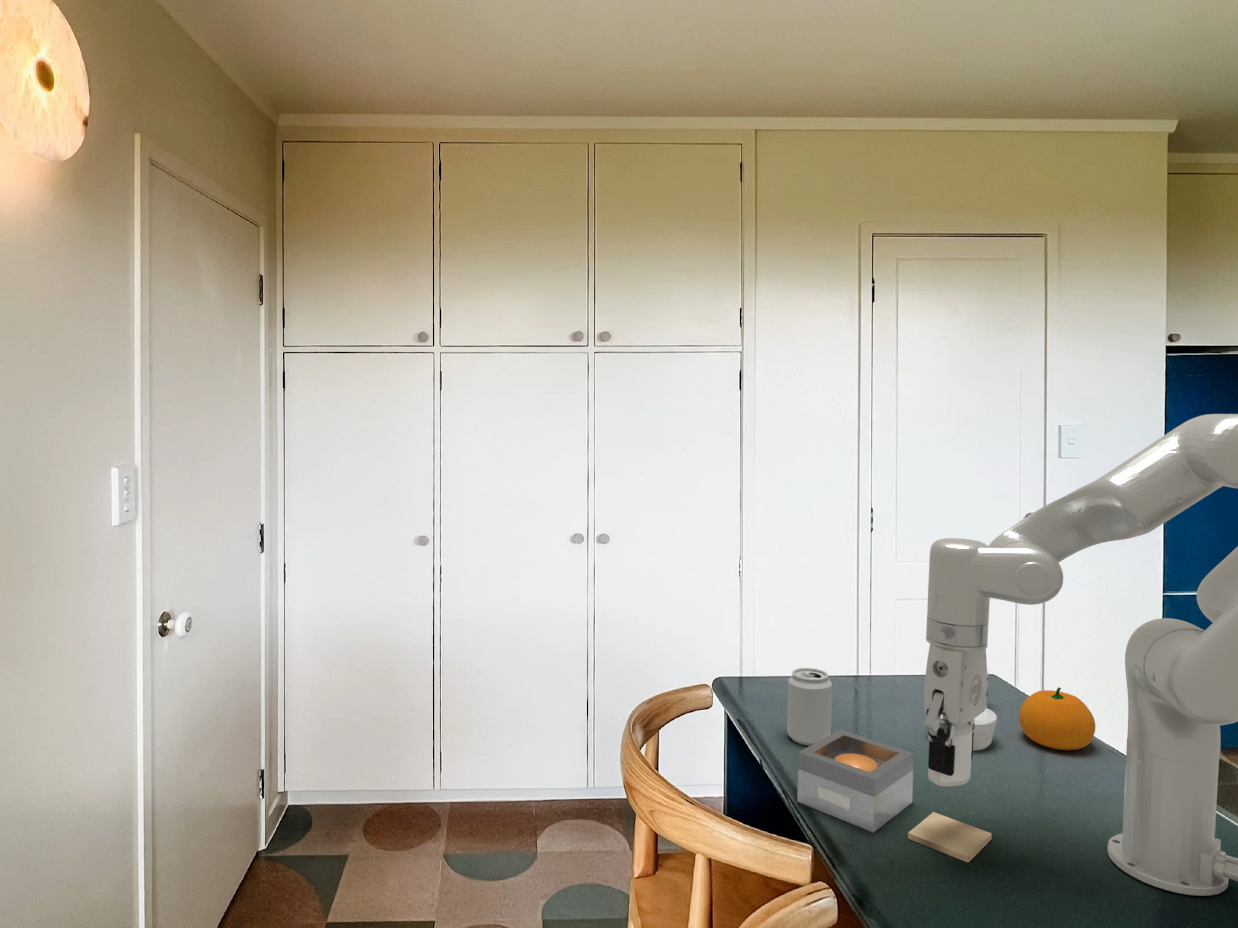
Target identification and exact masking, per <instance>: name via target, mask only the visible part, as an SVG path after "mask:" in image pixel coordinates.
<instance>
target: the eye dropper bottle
mask: <svg viewBox="0 0 1238 928" xmlns="http://www.w3.org/2000/svg"><path fill="white" fill-rule="evenodd" d="M942 717H943V718H942V719H945V720H948V718H947V716H946V715H943V714H942ZM948 721H949V720H948ZM939 725H940V728H943V729H944V731H945V733H947V727H948V726H947V725H944V724H940V723H939ZM952 745H954V746H955V762H954V774H953V775H952V776H948V775H945V774H942V773H939V772H936V771H934V770H931V769H929V768H928V771H927V775H928V776H927V777H928V780H929V781H930V782H932V783H934V784H935V785H936V786H939V787H944V788H945V787H947V788H948V787H959V786H962V785H965V784H967V783H969V781H971V780H970V779H971V769H972V768H971V766H972V760H971V752H972V727H971V726H970V725H969V724H968V723H967V724H965V725H963V726H961V727H957V726H955V731H954V737H953V743H952Z"/></svg>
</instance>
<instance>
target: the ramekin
mask: <svg viewBox="0 0 1238 928" xmlns="http://www.w3.org/2000/svg"><path fill="white" fill-rule="evenodd" d="M942 718H943V717H942V715H941V719H942ZM974 720H975V729H974V731H973V733H974V737H973V752H975V751H977V752H978V751H981V750H985V749H987V748H988V747H989V746H990V745H991V744H992V742H993V738H994V733H995V728H996V725H997V722H998V716H997V714H996V713H995V712H994V711H993V710H991V709H989V708H988V707H987V708H986V709H985V711H984V712H983V713H981V714H980V715H979V716H977V717H976V718H974Z"/></svg>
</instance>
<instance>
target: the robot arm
mask: <svg viewBox="0 0 1238 928" xmlns="http://www.w3.org/2000/svg"><path fill="white" fill-rule="evenodd" d="M1222 487H1227V488H1233V489H1238V413H1210V414H1209V413H1208V414H1203V415H1202V414H1201V415H1198V416H1196V417H1192V418H1190V419H1188V420H1186V421H1185V422H1183V423H1182V424H1180V425H1178V426H1176V427H1174V428H1173V429H1172V430H1171V431H1169V432H1167V433H1166V434H1165V435H1163V436H1161V437H1160V438H1158V439H1157V440H1155V441H1153V442H1152V443H1151V444H1150V445H1148V446H1146V447H1145V448H1143V449H1142V450H1140V451H1139V452H1137V453H1136V454H1134V455H1132V456H1131V457H1129V458H1128V459H1126V460H1125V461H1124V462H1122V463H1121V464H1119V465H1117V466H1116V467H1114V468H1113V469H1112V470H1110V471H1109V472H1107V473H1105V474H1104V475H1101V477H1099V478H1097V479H1095V480H1094V481H1092V482H1090V483H1088V484H1086V485H1083V486H1081V487H1079V488H1077V489H1075V490H1074V491H1071V492H1070V493H1068V494H1066V495H1064V496H1062V497H1060V498H1058V499H1055V500H1054V501H1052V502H1049V503H1048V504H1046V505H1044V506H1041V508H1040V507H1039V509H1036V510H1035V511H1034V512H1031V513H1030V514H1029V515H1027V516H1026V517H1024V518H1023V519H1021V520H1019V521H1018V522H1017V523H1015V524H1014V525H1012V526H1011V527H1009V528H1007V529H1006V530H1005V531H1003V532H1002V533H1001V534H999V535H998V536H997V537H996V538H994V539H993V540H992V541H991V542H990V543H989V544H986V543H985V542H982V541H979V540H976V539H969V538H959V537H957V538H955V537H954V538H953V537H952V538H951V537H950V538H949V537H948V538H940V539H936V540H935V541H934V542H933V543H932V544H931V546H930V550H929V562H928V563H929V564H928V567H929V568H928V584H927V585H928V587H927V606H926V607H927V610H926V611H927V612H926V630H925V641H926V642H927V643H928V644H929V648H928V654H927V659H926V669H925V678H924V688H923V689H924V691H923V711H924V712H923V713H924V715H925V716H926V718H925V721H924V728H925V729H926V731H927V733H928V735H927V736H928V737H927V739H928V761H927V762H928V763H927V764H928V765H927V766H928V767H927V768H928V769H931V770H934V771H936V772H939V773H942V774H945V775H948V776H952V775H953V774H954V762H955V746H954V745H952V743H953V737H954V731H955V726H957V727H961V726H963V725H965V724H967V723H968V724H969V725H970V726H971V727H972V752H971V761H972V760H973V758H974V757H973V753H974V751H973V737H974V733H973V731H974V729H975V720H974V718H976V717H977V716H979V715H980V714H981V713H983V712H984V711H985V709H986V706H987V707H988V701H987V671H988V666H987V663H988V662H987V650H986V649H987V648H988V638H989V637H988V636H989V620H990V600H991V599H996V600H1001V601H1005V602H1008V603H1009V602H1010V603H1015V604H1020V605H1032V606H1033V605H1040V604H1043V603H1046V602H1049V601H1051V600H1052V599H1054V598H1055V597H1056V596H1057V595H1058V594H1059V592H1060V591H1061V590H1062V588H1063V584H1064V572H1063V570H1062V569H1063V568H1062V566H1061V565H1060V562H1062V561H1063V560H1065V559H1067V558H1068V557H1071V556H1073V555H1074V554H1077V553H1078V552H1081V551H1083V550H1084V549H1087V548H1090V547H1092V546H1096V545H1099V544H1102V543H1103V544H1104V543H1108V542H1114V541H1122V540H1123V541H1124V540H1130V539H1133V538H1136V537H1141V536H1143V535H1147V534H1148V533H1151V532H1153V531H1154V530H1155V529H1157V528H1159V527H1160V526H1162V525H1163V524H1165V523H1167V522H1168V521H1170V520H1171V519H1173V518H1174V517H1176V516H1177V515H1179V514H1181V513H1182V512H1184V511H1185V510H1187V509H1189V508H1191V506H1193V505H1195V504H1196V503H1198V502H1200V501H1201V500H1202V499H1204V498H1206V497H1208V496H1209V495H1211V494H1212V493H1214V492H1215V491H1217V490H1218V489H1221V488H1222ZM1196 602H1197V605H1198V607H1199V610H1200V611H1201V612H1202V615H1204V617H1206V618H1207V619H1208V620H1209V621H1210V622H1211V624H1210V625H1209V626H1208V627H1207V628H1206V629H1203V628H1200V627H1199V626H1197V625H1195V624H1193V623H1190V622H1188V621H1185V620H1180V619H1176V618H1168V617H1163V618H1162V617H1161V618H1155V619H1152V620H1149V621H1146V622H1145V623H1143V624H1141V625H1140V626H1138V627H1137V628H1136V629H1135V630H1134V631H1133V633H1132V634H1131V635H1130V637H1129V639H1128V641H1127V644H1126V647H1125V654H1124V655H1125V656H1124V667H1125V680H1126V690H1127V702H1128V703H1127V706H1128V707H1127V708H1128V710H1127V711H1128V712H1127V715H1128V717H1127V737H1126V752H1125V753H1126V754H1125V773H1124V774H1125V775H1124V776H1125V777H1124V791H1123V792H1124V793H1123V795H1124V796H1123V797H1124V798H1123V813H1122V814H1123V815H1122V833H1118V834H1115V835H1114V836H1111V837H1110V838H1109V840H1108V841H1107V849H1106V851H1107V855H1108V857H1109V858H1110V860H1111V861H1112V862H1113V863H1114V864H1115V865H1116V866H1117V867H1118V868H1119V869H1121V870H1122V871H1123V872H1124V873H1126V874H1128V875H1129V876H1131V877H1132V878H1135V879H1136V880H1139V881H1140V882H1143V883H1145V884H1147V885H1150V886H1152V887H1154V888H1158V889H1162V890H1165V891H1169V892H1173V893H1177V894H1182V895H1188V896H1198V897H1204V896H1206V897H1207V896H1214V895H1219V894H1221V893H1223V892H1225V890H1227V888H1228V887H1229V879H1231V880H1233V881H1235V882H1238V857H1235V856H1230V855H1228V854H1227V853H1226V852H1225V851H1223V850H1221V843H1222V840H1221V839H1220V838H1216V837H1215V835H1216V834H1215V833H1216V823H1217V822H1216V820H1217V804H1218V803H1217V800H1218V784H1219V769H1220V768H1219V764H1220V757H1221V726H1226V725H1231V724H1235V723H1237V722H1238V546H1236V547H1235V548H1234V549H1233V550H1232V551H1231V552H1230V553H1229V554H1228V555H1227V556H1226V557H1224V559H1223V560H1221V561H1220V562H1219V563H1218V564H1217V565H1216V566H1215V567H1214V568H1212V569H1211V570H1210V571H1209V573H1207V575H1205V576H1204V578H1203V579H1202V580H1201V582H1200V584H1199V586H1198V588H1197V590H1196ZM942 714H943V715H946V716H947V718H948V720H949V721H948V720H945V719H941V715H942ZM939 723H940V724H944V725H947V726H948V727H947V733H945V731H944V729H943V728H940V725H939Z"/></svg>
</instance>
